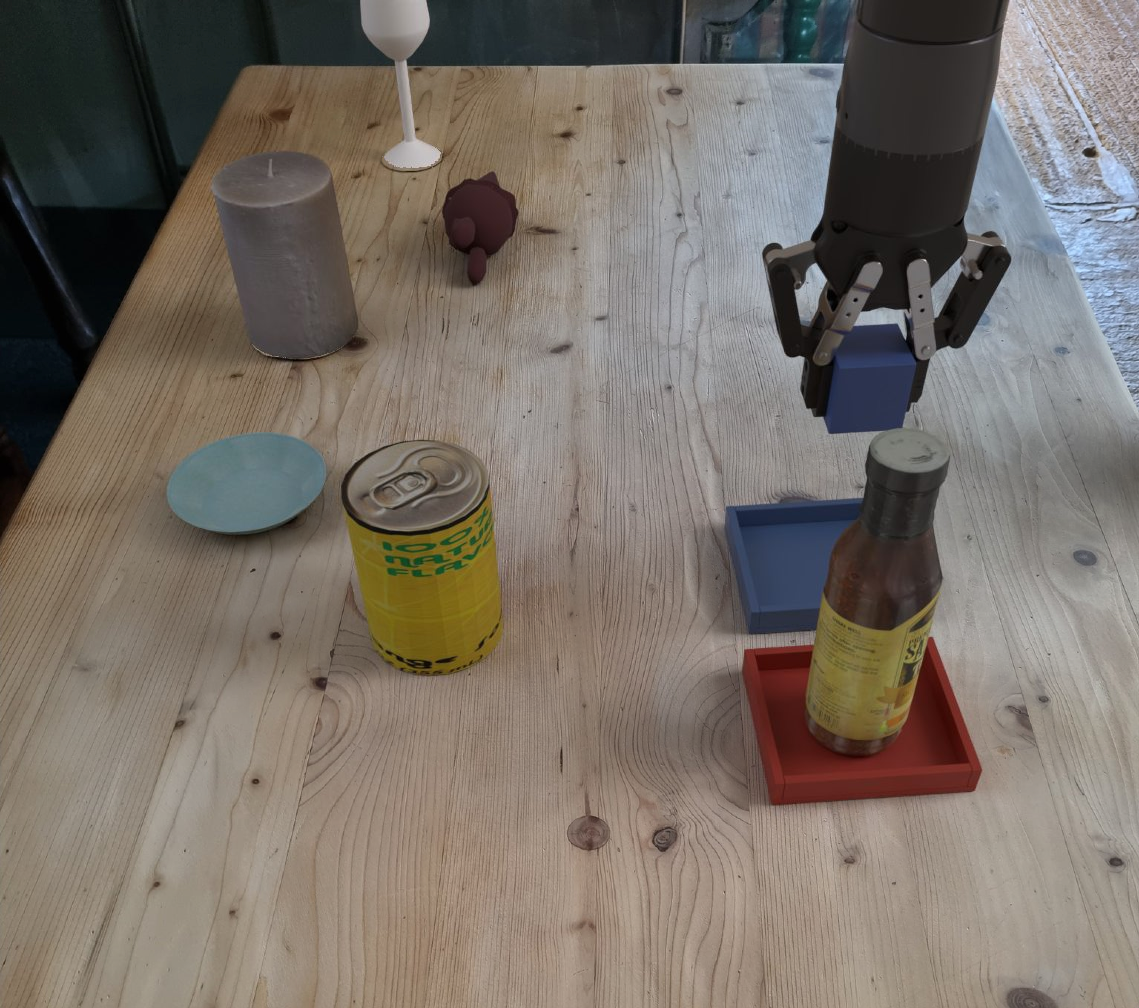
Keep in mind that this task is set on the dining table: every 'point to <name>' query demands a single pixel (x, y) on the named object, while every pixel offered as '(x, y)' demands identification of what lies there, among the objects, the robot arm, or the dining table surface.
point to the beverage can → (425, 554)
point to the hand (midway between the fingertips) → (858, 406)
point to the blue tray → (785, 559)
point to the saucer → (246, 483)
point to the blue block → (870, 380)
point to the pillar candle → (287, 252)
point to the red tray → (815, 773)
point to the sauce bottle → (879, 599)
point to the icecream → (479, 221)
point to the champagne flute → (400, 66)
